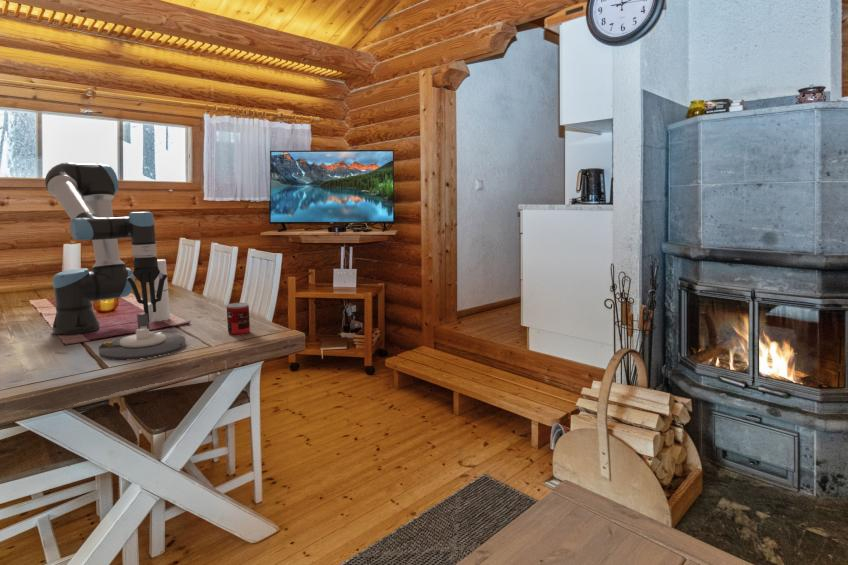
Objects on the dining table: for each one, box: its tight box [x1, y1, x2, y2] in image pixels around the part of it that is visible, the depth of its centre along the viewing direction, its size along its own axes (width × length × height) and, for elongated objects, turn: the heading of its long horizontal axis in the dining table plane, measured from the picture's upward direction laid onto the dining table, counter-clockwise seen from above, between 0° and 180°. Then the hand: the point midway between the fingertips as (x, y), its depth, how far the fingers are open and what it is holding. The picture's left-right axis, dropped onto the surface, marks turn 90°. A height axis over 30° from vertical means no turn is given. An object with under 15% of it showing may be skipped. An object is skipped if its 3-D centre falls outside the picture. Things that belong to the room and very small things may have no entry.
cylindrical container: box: [147, 258, 171, 322], centre depth 222 cm, size 7×7×25 cm
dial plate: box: [98, 331, 187, 361], centre depth 181 cm, size 26×26×2 cm
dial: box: [119, 312, 166, 348], centre depth 182 cm, size 19×14×8 cm
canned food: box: [226, 302, 251, 336], centre depth 201 cm, size 8×8×11 cm
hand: (151, 321), depth 191 cm, fingers closed
